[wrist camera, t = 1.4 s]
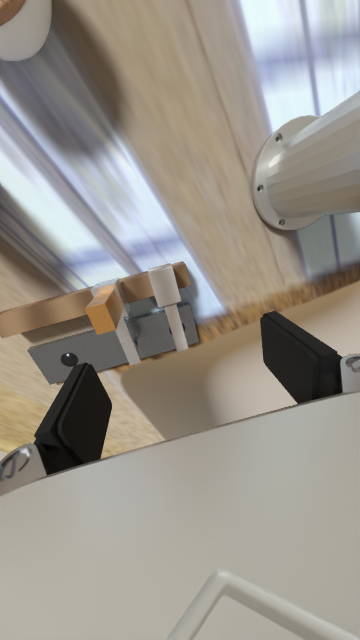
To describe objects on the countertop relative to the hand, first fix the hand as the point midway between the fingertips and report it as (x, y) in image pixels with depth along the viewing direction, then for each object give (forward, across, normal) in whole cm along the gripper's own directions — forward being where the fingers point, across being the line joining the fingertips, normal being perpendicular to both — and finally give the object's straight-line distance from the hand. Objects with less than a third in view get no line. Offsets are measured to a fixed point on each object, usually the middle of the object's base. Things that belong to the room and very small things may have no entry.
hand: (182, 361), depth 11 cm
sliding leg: (+20, +7, +4) cm, 22 cm away
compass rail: (+22, +10, +4) cm, 25 cm away
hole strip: (+22, +10, +9) cm, 26 cm away
